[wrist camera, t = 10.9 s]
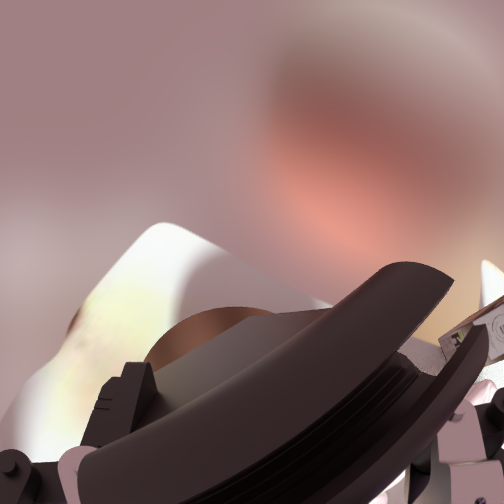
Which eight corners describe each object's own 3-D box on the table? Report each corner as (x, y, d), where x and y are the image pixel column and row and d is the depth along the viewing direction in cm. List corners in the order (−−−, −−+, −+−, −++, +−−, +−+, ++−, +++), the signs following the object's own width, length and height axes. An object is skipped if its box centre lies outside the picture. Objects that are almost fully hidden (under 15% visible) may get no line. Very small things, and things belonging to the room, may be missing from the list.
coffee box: (453, 379, 30) (545, 344, 16) (436, 338, 33) (523, 289, 19) (487, 348, 32) (566, 307, 18) (472, 312, 35) (546, 261, 21)
